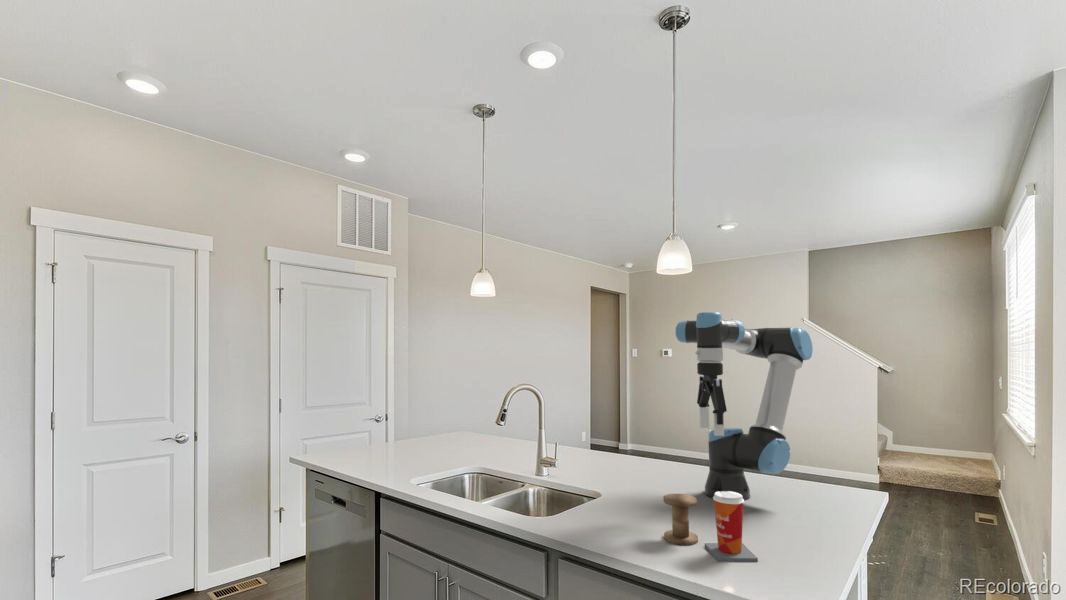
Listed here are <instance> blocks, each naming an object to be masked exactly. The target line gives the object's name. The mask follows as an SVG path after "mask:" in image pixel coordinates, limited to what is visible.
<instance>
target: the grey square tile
mask: <svg viewBox="0 0 1066 600" xmlns="http://www.w3.org/2000/svg"><path fill="white" fill-rule="evenodd" d="M704 547H705V548H706V549H707V551H708V552H709V553H710V554H711V556H712V557H713V558H714V559H715V560H716V561H717V563H718V562H721V563H723V562H724V563H725V562H737V563H738V562H748V563H749V562H750V563H751V562H754V563H755V562H759V558H758V557H757V555H755V554H754V553H753V552H752V551H751V550H750V549H749V548H748V547H747V546H746V545H745V544H744V543H743V542H742V550H741V553H739V554H727V553H723V552H721V551H720V550H719V548H718V542H705V543H704Z"/></svg>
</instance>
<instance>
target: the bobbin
mask: <svg viewBox="0 0 1066 600" xmlns="http://www.w3.org/2000/svg"><path fill="white" fill-rule="evenodd" d="M662 498H663V499H662V500H663V503H664V504H666V505H669V506H671V525H672V527H671V528H672V529H670V530H666V531H664V533H663V539H664V540H665V541H666V542H667V543H670V544H673V545H676V546H693V545H696V544H698V542H699V537H698V535H697V534H696V533H695V532H692V531H690V516H689V515H690V509H689V508H691V507H695V506H696V505H698V499H697V497H695V496H693V495H691V494H686V493H669V494H665V495H664V496H663V497H662Z"/></svg>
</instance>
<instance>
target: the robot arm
mask: <svg viewBox="0 0 1066 600" xmlns="http://www.w3.org/2000/svg"><path fill="white" fill-rule="evenodd" d="M695 319H696V320H683V321H679V322H678V323H677V324H676V326H675V338H676V339H677V341H679V342H680V343H684V344H685V343H686V344H691V343H692V344H696V351H695V354H696V355H697V356H696V357H697V359H696V360H697V361H698V363H697V364H696V366H697V367H696V369H697V373H696V374H698V375H700V376H699V385H698V392H697V399H696V404H697V405H698V407H699V428H700V429H710V404H709V402H710V399H711V403H712V406H713V411H712V414H713V429H711V430H710V431H709V432H708V442H707V444H708V462H709V463H708V464H709V467H708V469H709V471H708V475H707V479H706V482H705V484H704V494H705V495H706V496H708V497H710V498H713V497H714V494H715V492H718V491H719V492H721V491H726V492H727V491H731V492H736V493H739V494H741V495H742V497H743V499H744V501H746V500H748V499H749V498H750V497H751V490H750V489H751V488H750V486H749V484H748V481H747V478H746V476H745V469H746V470H751V471H756V472H760V473H763V474H770V475H771V474H772V475H778V474H780V473H782V472H783V471H784V470H785V469H786V468H787V466H788V464H789V461H790V458H791V457H790V456H791V452H790V450H791V447H790V446H791V445H790V444H789V442H788V441H787V440H786V439H787V437H786V435H785V434H784V433H783V430H784V426H785V421H786V418H787V417H786V416H787V413H788V407H789V404H790V399H791V394H792V390H793V385H794V382H795V377H796V372H797V370H799V369H801V368H802V367H803V364H804V361H808V360H810V359H812V355H813V342H812V339H811V336H810V334H809V332H808V331H807V330H806V329H805V328H803V327H793V326H791V327H762V328H745V326H744V324H743V323H742V322H741V321H740V320H736V319H733V318H732V319H728V318H727V319H725V318H724V319H723V318H722V314H721V313H720V312H718V311H714V312H713V311H711V312H710V311H707V312H706V311H705V312H704V311H703V312H698V313H697V314H696V318H695ZM724 349H729V350H735V351H736V352H737V353H739V354H743V355H747V356H751V357H754V358H755V357H756V358H760V359H766V360H767V361H768V362H769V369H768V371H767V372H768V373H767V376H766V381H765V384H764V389H763V393H762V397H761V401H760V405H759V409H758V413H757V417H756V420H755V421H756V422H755V423H754V424H753V425H751V426H750V427H749V428H748V429H749V430H748V433H744V430H743V428H741V427H726V428H725V419H724V418H725V417H724V416H725V415H724V414H725V413H726V412H728V411H727V404H726V399H725V394H724V388H723V379H720V378H719V379H718V376H722V375H723V374H724V366H723V363H722V361H723V360H724V359H723V358H724V356H723V355H724V352H723V350H724Z"/></svg>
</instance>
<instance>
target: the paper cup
mask: <svg viewBox="0 0 1066 600" xmlns="http://www.w3.org/2000/svg"><path fill="white" fill-rule="evenodd" d="M712 499H713V502H714V513H715V515H714V516H715V526H716V537H717V543H718V548H719V550H720V551H721V552H723V553H727V554H739V553H741V550H742V543H743V521H744V519H743V517H744V503H745V500H744V499H743V497H742V495H741V494H739V493H736V492H731V491H727V492H726V491H721V492H719V491H718V492H715V494H714V497H712Z"/></svg>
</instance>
